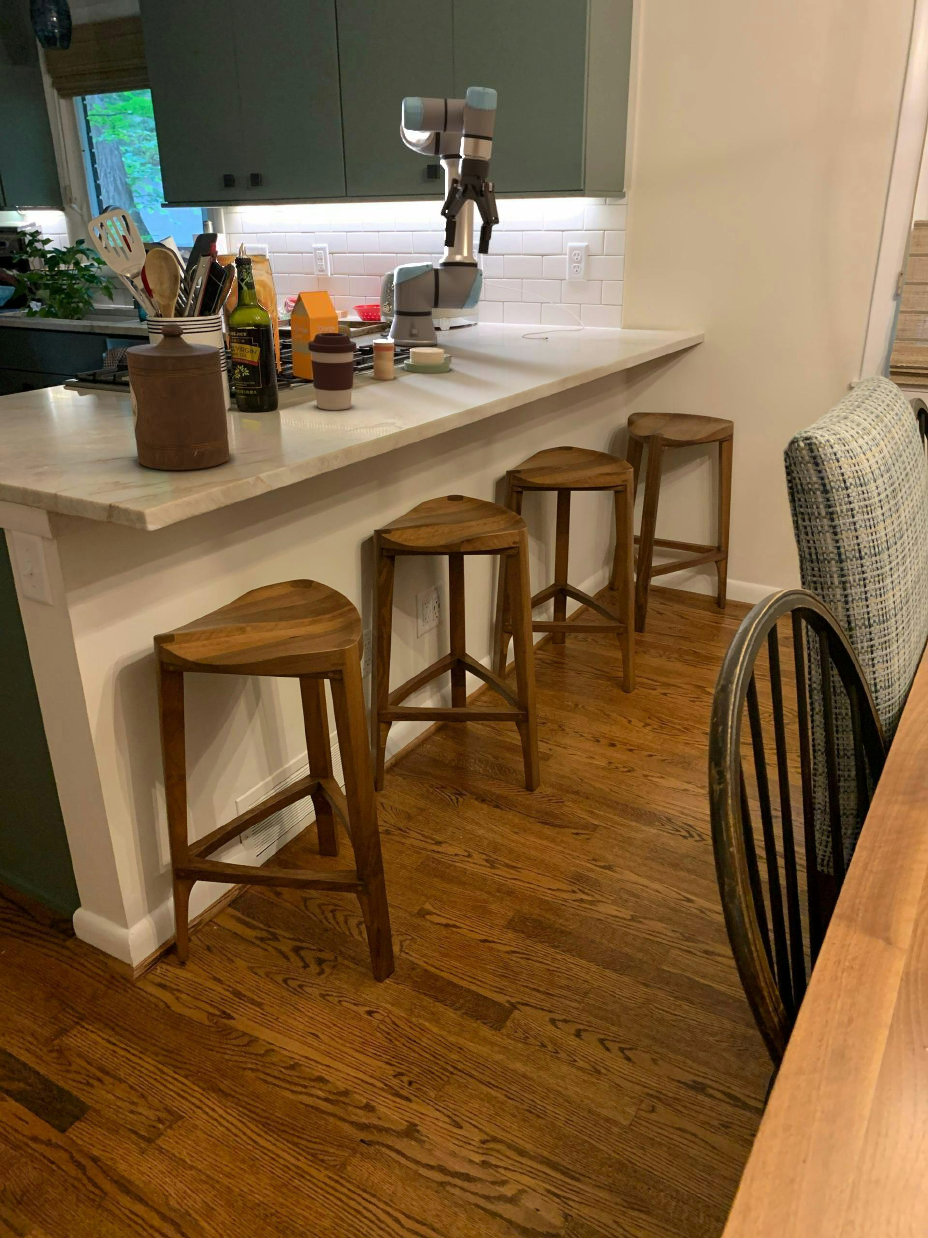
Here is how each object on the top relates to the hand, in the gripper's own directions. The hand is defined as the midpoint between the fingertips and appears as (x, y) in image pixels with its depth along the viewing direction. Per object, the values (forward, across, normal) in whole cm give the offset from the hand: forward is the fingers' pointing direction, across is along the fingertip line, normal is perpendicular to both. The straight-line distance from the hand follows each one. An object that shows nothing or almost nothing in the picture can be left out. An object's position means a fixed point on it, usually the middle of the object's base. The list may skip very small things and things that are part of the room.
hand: (465, 250), depth 240 cm
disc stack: (+30, 0, +9) cm, 31 cm away
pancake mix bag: (+33, +16, +52) cm, 64 cm away
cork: (+32, +11, +28) cm, 44 cm away
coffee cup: (+31, -28, +56) cm, 70 cm away
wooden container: (+32, -51, +101) cm, 117 cm away
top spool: (+31, -5, +27) cm, 41 cm away
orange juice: (+32, +6, +39) cm, 51 cm away
